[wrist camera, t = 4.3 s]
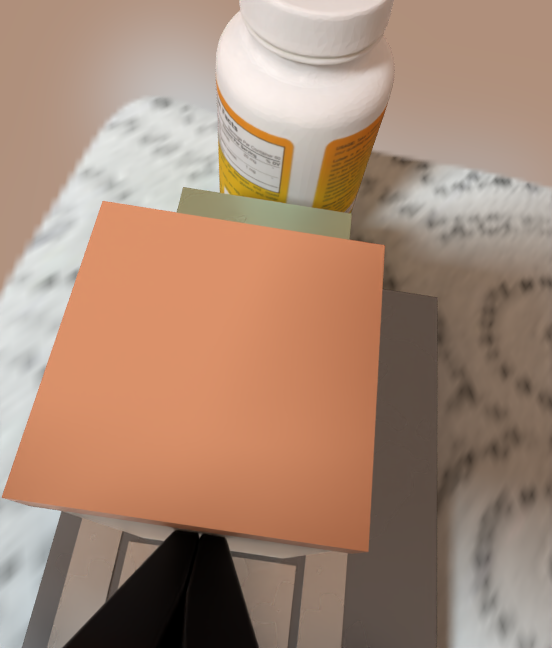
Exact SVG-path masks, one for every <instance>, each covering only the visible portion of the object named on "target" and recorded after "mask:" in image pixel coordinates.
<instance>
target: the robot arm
mask: <svg viewBox="0 0 552 648" xmlns="http://www.w3.org/2000/svg"><path fill="white" fill-rule="evenodd" d="M62 648H259V645H258V642H257V639H256V635H255V632H254V629H253V625H252V622H251V619H250V615H249V612H248V609H247V605H246V602H245V599H244V595H243V592H242V589H241V585H240V582H239V579H238V575H237V572H236V569H235V565H234V562H233V559H232V555H231V552H230V549H229V545H228V542H227V540H226V538H225V537H221V536H214V535H207V534H202V535H201V536H199V534H198V533H194V532H187V531H180V530H175V531H173V532H172V533H171V534H170V535H169V536H168V537H167V538H166V539H165V540H164V541H163V542H162V544H161V545H160V546H159V547H158V548H157V549H156V550H155V551H154V552H153V553H152V554H151V555H150V556H149V557H148V558H147V559H146V560H145V561H144V562H143V563H142V564H141V565H140V567H139V568H138V569H137V570H136V571H135V572H134V573H133V574H132V575H131V576H130V577H129V578H128V579H127V580H126V581H125V582H124V583H123V584H122V585H121V586H120V587H119V588H118V590H117V591H116V592H115V593H114V594H113V595H112V596H111V597H110V598H109V599H108V600H107V601H106V602H105V603H104V604H103V605H102V606H101V607H100V608H99V609H98V610H97V611H96V613H95V614H94V615H93V616H92V617H91V618H90V619H89V620H88V621H87V622H86V623H85V624H84V625H83V626H82V627H81V628H80V629H79V630H78V631H77V632H76V633H75V634H74V636H73V637H72V638H71V639H70V640H69V641H68V642H67V643H66V644H65V645H64V646H63V647H62Z"/></svg>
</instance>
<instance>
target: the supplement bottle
mask: <svg viewBox="0 0 552 648" xmlns="http://www.w3.org/2000/svg"><path fill="white" fill-rule="evenodd" d="M393 1H394V0H239V2H240V8H241V10H240V11H239V12H238V13H237V14H236V15H235V16H234V17H233V18H232V19H231V20H230V21H229V23H228V25H227V26H226V28H225V29H224V31H223V33H222V35H221V37H220V40H219V43H218V48H217V55H216V91H217V117H218V146H219V178H220V193H224V194H230V195H236V196H243V197H249V198H255V199H262V200H268V201H274V202H281V203H287V204H293V205H299V206H306V207H312V208H318V209H325V210H331V211H337V212H344V213H350V214H351V211H352V208H353V205H354V202H355V199H356V196H357V192H358V190H359V187H360V184H361V181H362V178H363V175H364V172H365V169H366V166H367V163H368V160H369V157H370V154H371V151H372V148H373V145H374V142H375V139H376V136H377V133H378V130H379V128H380V125H381V122H382V119H383V116H384V113H385V110H386V107H387V104H388V100H389V97H390V93H391V90H392V86H393V81H394V71H395V70H394V60H393V55H392V51H391V49H390V46H389V43H388V42H387V40H386V38H385V36H384V35H383V34H384V31H385V29H386V27H387V25H388V21H389V17H390V13H391V9H392V5H393Z"/></svg>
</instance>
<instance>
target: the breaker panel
mask: <svg viewBox="0 0 552 648" xmlns="http://www.w3.org/2000/svg"><path fill="white" fill-rule="evenodd" d="M177 213H182V214H189V215H195V216H202V217H208V218H214V219H221V220H227V221H233V222H240V223H246V224H252V225H259V226H265V227H271V228H278V229H284V230H291V231H297V232H303V233H310V234H316V235H322V236H329V237H335V238H341V239H348V240H350V230H351V218H352V214H350V213H344V212H337V211H331V210H325V209H318V208H312V207H306V206H299V205H293V204H287V203H281V202H274V201H268V200H262V199H255V198H249V197H243V196H236V195H230V194H224V193H217V192H211V191H205V190H198V189H192V188H186V187H183V190H182V194H181V198H180V202H179V206H178V209H177ZM162 542H163V541H161V540H154V539H147V538H142V537H139V536H136V535H133V534H130V533H127V532H124V531H121V530H118V529H115V528H112V527H109V526H106V525H102V524H99V523H96V522H93V521H90V520H87V519H84V518H81V517H78V516H75V515H72V514H69V513H66V512H63V511H62V512H61V515H60V519H59V522H58V525H57V529H56V532H55V536H54V539H53V543H52V546H51V549H50V553H49V556H48V560H47V563H46V567H45V570H44V574H43V577H42V580H41V584H40V587H39V591H38V594H37V598H36V601H35V604H34V608H33V611H32V615H31V618H30V622H29V625H28V629H27V632H26V635H25V639H24V642H23V646H22V648H62V647H63V646H64V645H65V644H66V643H67V642H68V641H69V640H70V639H71V638H72V637H73V636H74V634H75V633H76V632H77V631H78V630H79V629H80V628H81V627H82V626H83V625H84V624H85V623H86V622H87V621H88V620H89V619H90V618H91V617H92V616H93V615H94V614H95V613H96V611H97V610H98V609H99V608H100V607H101V606H102V605H103V604H104V603H105V602H106V601H107V600H108V599H109V598H110V597H111V596H112V595H113V594H114V593H115V592H116V591H117V590H118V588H119V587H120V586H121V585H122V584H123V583H124V582H125V581H126V580H127V579H128V578H129V577H130V576H131V575H132V574H133V573H134V572H135V571H136V570H137V569H138V568H139V567H140V565H141V564H142V563H143V562H144V561H145V560H146V559H147V558H148V557H149V556H150V555H151V554H152V553H153V552H154V551H155V550H156V549H157V548H158V547H159V546H160V545H161V544H162ZM230 552H231V555H232V559H233V562H234V565H235V569H236V572H237V575H238V579H239V582H240V585H241V589H242V592H243V595H244V599H245V602H246V605H247V609H248V612H249V615H250V619H251V622H252V625H253V629H254V632H255V635H256V639H257V642H258V645H259V648H437V297H430V296H424V295H418V294H411V293H405V292H398V291H392V290H385V289H382V307H381V326H380V345H379V363H378V382H377V401H376V420H375V439H374V457H373V476H372V495H371V514H370V532H369V551H368V552H363V553H354V554H350V553H343V552H337V551H330V552H324V553H317V554H310V555H304V556H297V557H290V558H283V559H282V558H276V557H269V556H262V555H255V554H249V553H242V552H235V551H230Z"/></svg>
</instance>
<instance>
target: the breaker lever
mask: <svg viewBox="0 0 552 648" xmlns="http://www.w3.org/2000/svg"><path fill="white" fill-rule="evenodd" d="M384 251H385V245H380V244H373V243H367V242H361V241H354V240H348V239H341V238H335V237H329V236H322V235H316V234H310V233H303V232H297V231H291V230H284V229H278V228H271V227H265V226H259V225H252V224H246V223H240V222H233V221H227V220H221V219H214V218H208V217H202V216H195V215H189V214H182V213H176V212H170V211H163V210H157V209H151V208H144V207H138V206H132V205H125V204H119V203H113V202H106V201H103V202H102V205H101V207H100V210H99V213H98V216H97V219H96V222H95V225H94V228H93V231H92V234H91V237H90V240H89V243H88V246H87V249H86V251H85V254H84V257H83V260H82V263H81V266H80V269H79V272H78V275H77V278H76V281H75V284H74V287H73V290H72V293H71V296H70V298H69V301H68V304H67V307H66V310H65V313H64V316H63V319H62V322H61V325H60V328H59V331H58V334H57V337H56V340H55V342H54V345H53V348H52V351H51V354H50V357H49V360H48V363H47V366H46V369H45V372H44V375H43V378H42V381H41V384H40V387H39V389H38V392H37V395H36V398H35V401H34V404H33V407H32V410H31V413H30V416H29V419H28V422H27V425H26V428H25V431H24V433H23V436H22V439H21V442H20V445H19V448H18V451H17V454H16V457H15V460H14V463H13V466H12V469H11V472H10V475H9V477H8V480H7V483H6V486H5V489H4V492H3V495H2V498H5V499H8V500H11V501H15V502H18V503H21V504H25V505H28V506H33V507H40V508H46V509H53V510H60V511H63V512H66V513H69V514H72V515H75V516H78V517H81V518H84V519H87V520H90V521H93V522H96V523H99V524H102V525H106V526H109V527H112V528H115V529H118V530H121V531H124V532H127V533H130V534H133V535H136V536H139V537H142V538H147V539H154V540H161V541H164V540H165V539H166V538H167V537H168V536H169V535H170V534H171V533H172V532H173V531H175V530H180V531H187V532H194V533H198V534H199V536H201V535H202V534H207V535H214V536H221V537H225V538H226V540H227V542H228V545H229V549H230V551H235V552H242V553H249V554H255V555H262V556H269V557H276V558H282V559H283V558H290V557H297V556H304V555H310V554H317V553H324V552H330V551H337V552H343V553H350V554H354V553H363V552H368V551H369V532H370V514H371V495H372V476H373V457H374V439H375V420H376V401H377V382H378V363H379V345H380V326H381V307H382V288H383V270H384Z"/></svg>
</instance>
